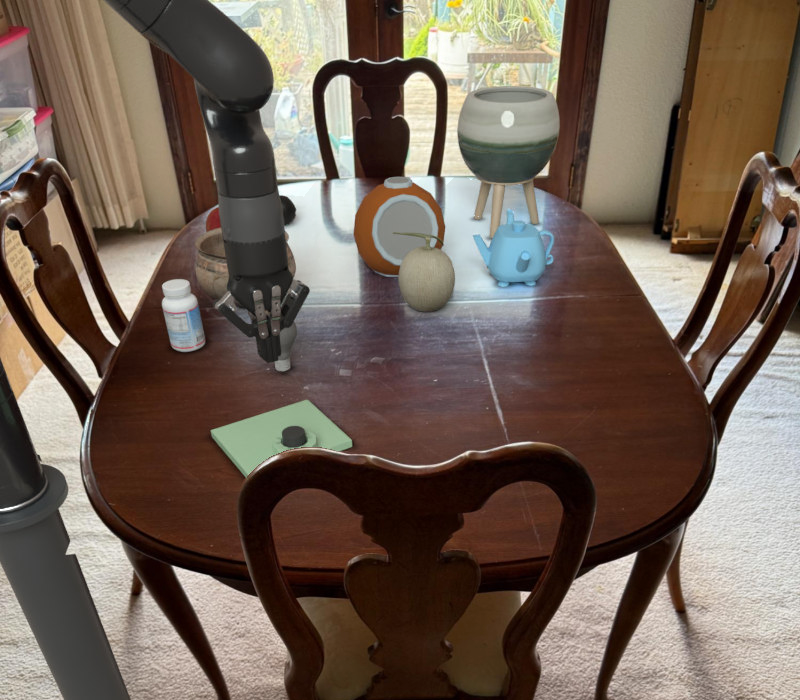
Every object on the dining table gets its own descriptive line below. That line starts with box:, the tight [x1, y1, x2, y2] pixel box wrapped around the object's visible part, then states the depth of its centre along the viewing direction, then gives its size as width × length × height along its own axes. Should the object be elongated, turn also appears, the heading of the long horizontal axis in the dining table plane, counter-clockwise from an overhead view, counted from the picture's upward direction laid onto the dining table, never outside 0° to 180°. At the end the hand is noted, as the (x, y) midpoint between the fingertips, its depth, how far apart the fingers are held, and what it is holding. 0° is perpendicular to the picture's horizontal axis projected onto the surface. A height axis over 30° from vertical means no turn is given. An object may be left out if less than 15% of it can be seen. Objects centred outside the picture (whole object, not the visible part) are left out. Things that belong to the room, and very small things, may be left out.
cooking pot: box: [194, 228, 297, 310], centre depth 149 cm, size 25×19×12 cm
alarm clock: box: [353, 176, 446, 278], centre depth 161 cm, size 19×18×17 cm
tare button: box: [282, 426, 306, 448], centre depth 108 cm, size 3×3×2 cm
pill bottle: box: [161, 278, 206, 353], centre depth 135 cm, size 6×6×11 cm
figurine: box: [279, 194, 297, 227], centre depth 192 cm, size 8×7×18 cm
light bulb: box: [274, 321, 298, 372], centre depth 128 cm, size 6×6×10 cm
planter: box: [456, 85, 561, 239], centre depth 175 cm, size 22×22×28 cm
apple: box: [205, 206, 221, 233], centre depth 176 cm, size 8×8×8 cm
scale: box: [210, 399, 353, 479], centre depth 113 cm, size 16×15×3 cm
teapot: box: [472, 208, 555, 288], centre depth 156 cm, size 15×14×11 cm
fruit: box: [393, 232, 456, 313], centre depth 145 cm, size 10×12×15 cm
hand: (270, 360), depth 105 cm, fingers closed
